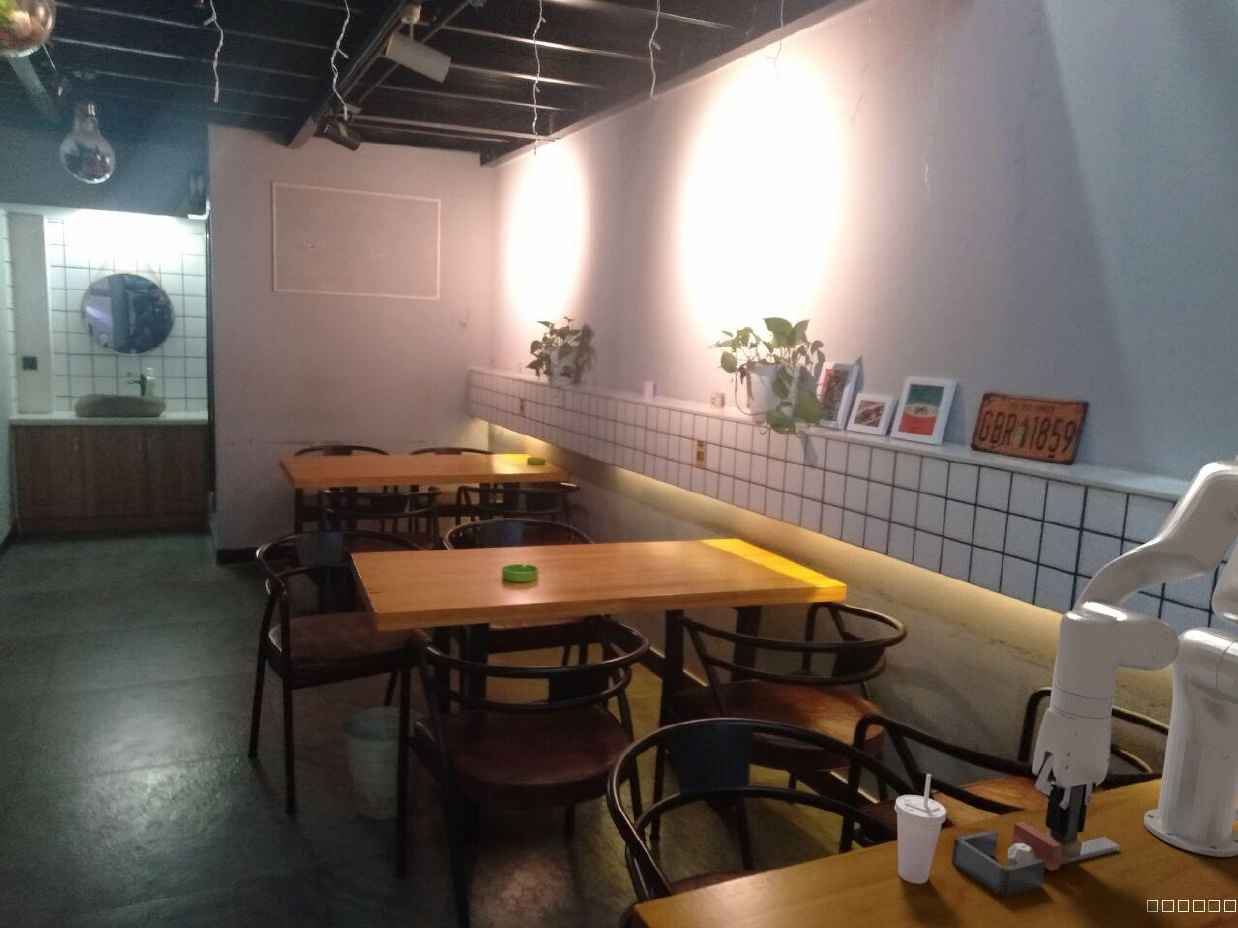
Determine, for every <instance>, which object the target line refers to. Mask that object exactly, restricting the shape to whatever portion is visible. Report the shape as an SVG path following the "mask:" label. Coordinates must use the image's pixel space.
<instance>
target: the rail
mask: <svg viewBox="0 0 1238 928" xmlns="http://www.w3.org/2000/svg"><path fill="white" fill-rule="evenodd" d="M1081 842H1082V846H1081V853H1080V856H1078V857H1074V858H1070V859H1066V860H1062V861H1060V865H1059V866H1061V865H1066V864H1070V863H1074V862H1077V861H1082V860H1085V859H1089V858H1093V857H1099V856H1101V855H1106V854H1110V853H1114V852H1118V851H1119V850H1120V844H1118V843H1116V842H1114V841H1112V840H1111V839H1108V838H1107V837H1106V836H1102V837H1099V838H1098V837H1097V838H1093V839H1090V840H1086V841H1081Z"/></svg>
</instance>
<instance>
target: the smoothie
mask: <svg viewBox="0 0 1238 928" xmlns="http://www.w3.org/2000/svg"><path fill="white" fill-rule="evenodd" d="M931 778H932V774H930V773H927V774H926V777H925V785H924V795H923V796H921V795H916V794H915V795H914V794H904V795H901V796H898V797H897V798H896V800H895V805H894V810H895V812H896V813H897V815H896V817H897V818H896V824H897V864H898V865H897V866H898V867H897V868H898V869H897V870H898V875H899V877H900V878H901V879H902V880H904V881H906V882H908V883H912V884H918V885H920V884H921V885H922V884H924V883H927V882H928V879H929V875H930V872H931V868H932V864H933V860H934V856H935V853H936V848H937V844H938V840H939V837H940V833H941V829H942V825H943V823H945V821H946V819H947V818H946V814H947V810H946V807H944V806H943V804H941V803H940V802H938V801H937V800H934V799H932V798H929V796H930V789H931V788H930V787H931V780H932V779H931Z"/></svg>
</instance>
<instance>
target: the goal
mask: <svg viewBox="0 0 1238 928" xmlns="http://www.w3.org/2000/svg"><path fill="white" fill-rule="evenodd" d="M998 835H999V834H998V832H997V831H995V830H994V829H991V830H986V831H980V832H975V833H972V834H968V835H963V836H958V837H954V838H953V845H952V846H953V849H952V855H951V856H952V857H951V863H952V864H953V863H954V864H955V865H954V864H953V865H954V866H956V867H958V868H959V869H960V870H962V871H963V872H965V873H966V874H967V875H969V876H970V877H972V878H973V879H975V880H976V881H978V882H980V883H981V884H983V885H984V886H985V887H986V888H988V889H989V890H991V891H992V892H994V893H995V894H997V895H998V896H1000V897H1001V898H1005V897H1008V896H1013V895H1016V894H1020V893H1024V892H1027V891H1031V890H1035V889H1039V888H1040V889H1041V888H1043V883H1044V877H1045V876H1044V875H1045V870H1046V868H1045V861H1044V860H1042V859H1036V860H1032V861H1028V862H1024V863H1020V864H1015V865H1011V864H1010V865H1008V866H1007V865H1006V866H1005V865H1002V864H1001V863H1000V862H998V861H997V860H995V859H993V858H994V857H995V856H996V848H997V842H998V841H997V840H998Z"/></svg>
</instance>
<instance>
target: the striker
mask: <svg viewBox="0 0 1238 928" xmlns="http://www.w3.org/2000/svg"><path fill="white" fill-rule="evenodd" d="M1056 789H1057V790H1058V791H1059V792H1060V794H1061V791H1062V789H1060V788H1058V787H1056ZM1083 789H1084V785H1078V786H1073V787H1071V792H1070V798H1069V804H1068V808H1070V809H1071V814H1070V822H1069V829H1068V835H1067V836H1062V835H1060V834H1058V833H1056V832H1055V831H1053V830H1051V829H1050V831H1049V832H1048V831H1047V832H1041V831H1039V830H1037V829H1035V828H1034V827H1032V826H1030V825H1029V824H1027V823H1026V822H1024V821H1020V822H1016V823H1014V825H1013V833H1012V842H1011V846H1012V845H1013V844H1016V843H1024V844H1026V845H1027V846H1029V847H1031V848H1032V849H1033V851H1034V853H1035V855H1036V859H1042V860H1044V861H1045V869H1047V870H1049V871H1050V872H1052V871H1055V870H1059V869H1060V866H1061V865H1060V861H1062V860H1066V859H1070V858H1074V857H1078V856H1080V853H1081V846H1082V842H1083V841H1080V840H1078V834H1079V832H1078V825H1079V817H1080V810H1081V804H1082V797H1083Z"/></svg>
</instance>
